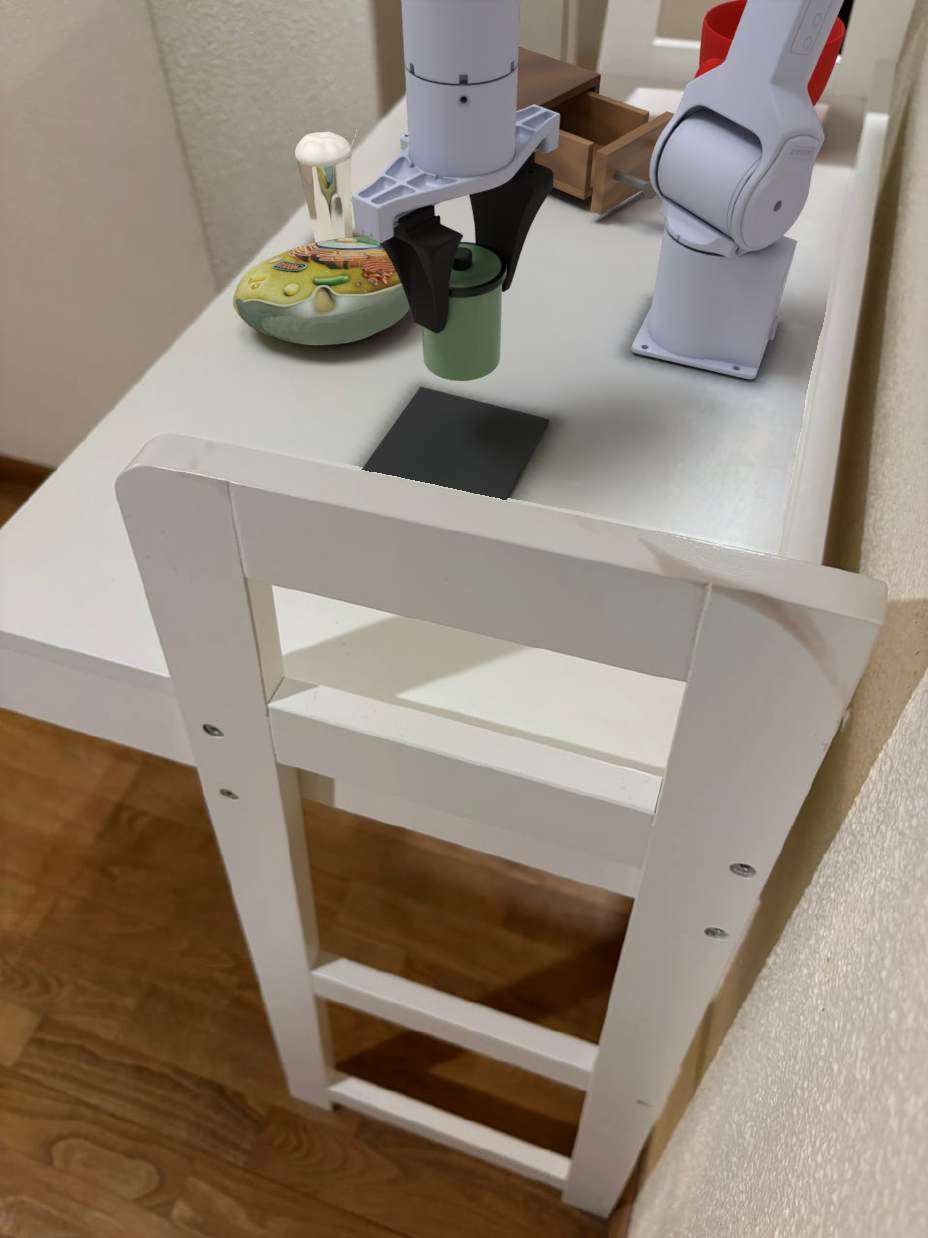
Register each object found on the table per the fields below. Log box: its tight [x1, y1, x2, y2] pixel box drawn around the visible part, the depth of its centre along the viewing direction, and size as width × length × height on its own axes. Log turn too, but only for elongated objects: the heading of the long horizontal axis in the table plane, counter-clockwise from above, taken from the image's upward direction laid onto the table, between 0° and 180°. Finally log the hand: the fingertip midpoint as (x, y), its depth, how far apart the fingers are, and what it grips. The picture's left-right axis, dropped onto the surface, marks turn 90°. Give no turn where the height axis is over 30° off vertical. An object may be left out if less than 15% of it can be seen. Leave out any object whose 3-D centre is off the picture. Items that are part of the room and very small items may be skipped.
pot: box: [421, 241, 507, 382], centre depth 57 cm, size 6×6×7 cm
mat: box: [361, 386, 550, 501], centre depth 64 cm, size 10×10×1 cm
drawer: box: [535, 90, 675, 216], centre depth 84 cm, size 17×10×5 cm, turn 48°
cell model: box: [232, 236, 410, 346], centre depth 71 cm, size 11×8×15 cm
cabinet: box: [516, 46, 602, 111], centre depth 89 cm, size 14×12×7 cm
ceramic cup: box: [693, 0, 846, 108], centre depth 89 cm, size 13×17×10 cm
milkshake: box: [294, 127, 359, 243], centre depth 77 cm, size 4×5×10 cm
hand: (463, 304), depth 57 cm, fingers closed on pot, 5 cm apart
